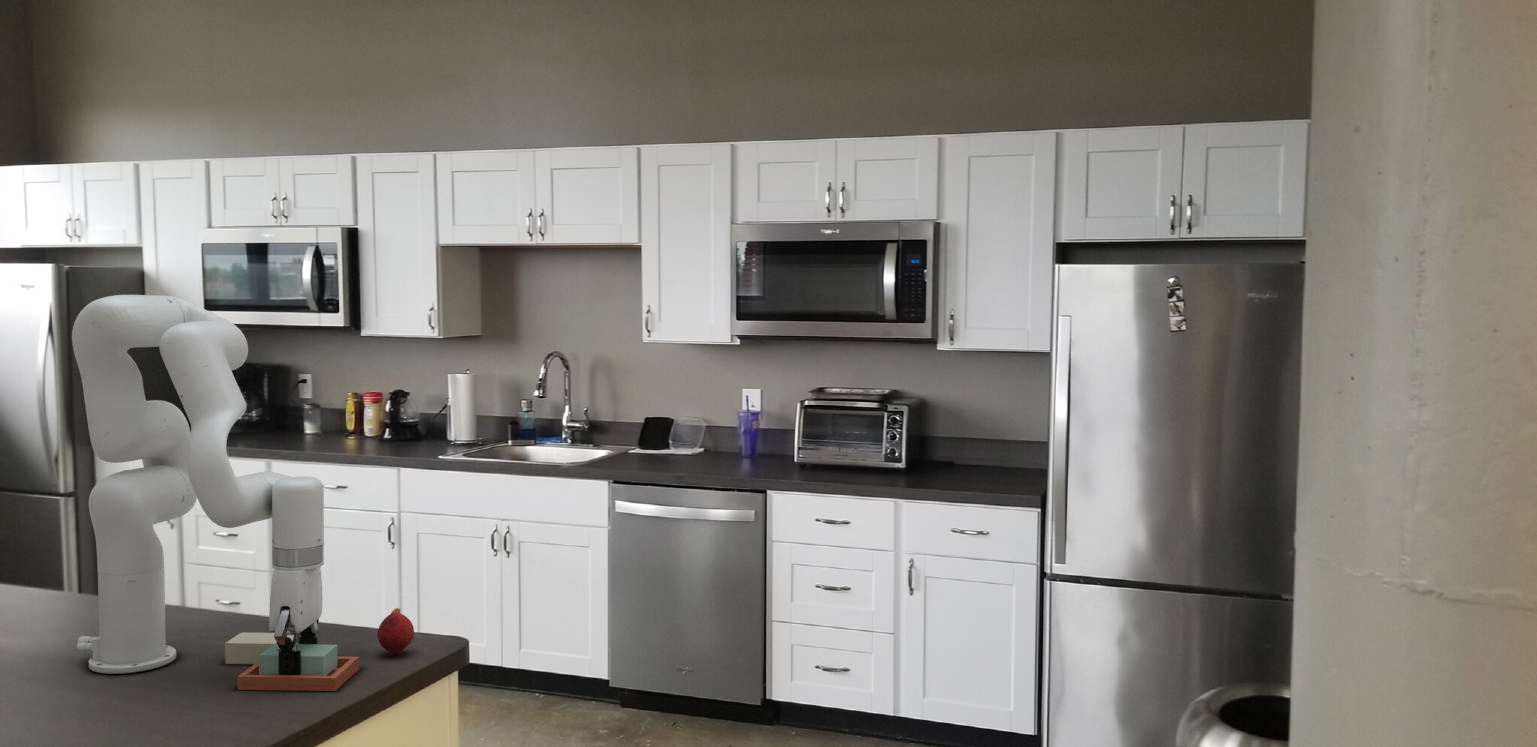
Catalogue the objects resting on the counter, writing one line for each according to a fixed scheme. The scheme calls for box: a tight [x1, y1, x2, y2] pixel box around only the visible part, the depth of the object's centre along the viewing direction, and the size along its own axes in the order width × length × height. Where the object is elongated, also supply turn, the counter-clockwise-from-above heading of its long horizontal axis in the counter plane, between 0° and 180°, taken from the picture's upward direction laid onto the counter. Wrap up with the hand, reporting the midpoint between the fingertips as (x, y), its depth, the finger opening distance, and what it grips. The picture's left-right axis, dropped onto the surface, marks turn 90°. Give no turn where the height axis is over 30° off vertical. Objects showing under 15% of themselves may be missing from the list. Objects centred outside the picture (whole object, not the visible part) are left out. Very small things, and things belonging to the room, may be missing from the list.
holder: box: [236, 655, 360, 692], centre depth 183 cm, size 15×10×2 cm
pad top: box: [224, 632, 301, 665], centre depth 192 cm, size 10×6×4 cm, turn 90°
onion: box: [376, 607, 415, 656], centre depth 195 cm, size 6×6×8 cm
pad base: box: [259, 643, 338, 676], centre depth 183 cm, size 10×6×4 cm, turn 90°
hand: (298, 667), depth 183 cm, fingers closed on pad base, 6 cm apart
